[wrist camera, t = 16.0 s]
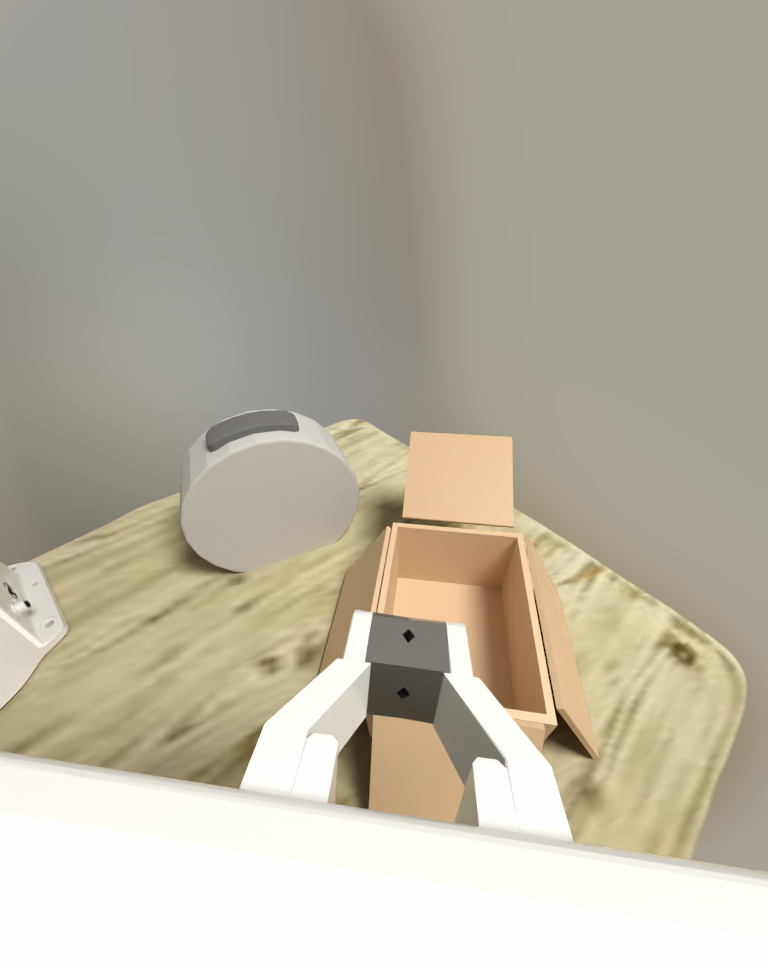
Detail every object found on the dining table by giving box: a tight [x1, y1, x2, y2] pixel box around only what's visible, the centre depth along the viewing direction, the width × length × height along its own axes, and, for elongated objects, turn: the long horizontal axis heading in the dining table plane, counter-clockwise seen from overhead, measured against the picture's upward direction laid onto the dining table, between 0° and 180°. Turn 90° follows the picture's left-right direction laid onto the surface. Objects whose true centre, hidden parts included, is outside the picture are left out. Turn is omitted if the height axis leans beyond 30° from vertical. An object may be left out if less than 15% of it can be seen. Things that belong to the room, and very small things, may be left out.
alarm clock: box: [180, 409, 359, 573], centre depth 46 cm, size 21×8×20 cm, turn 113°
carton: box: [319, 522, 599, 823], centre depth 34 cm, size 24×26×10 cm
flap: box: [402, 432, 514, 528], centre depth 42 cm, size 1×12×11 cm
